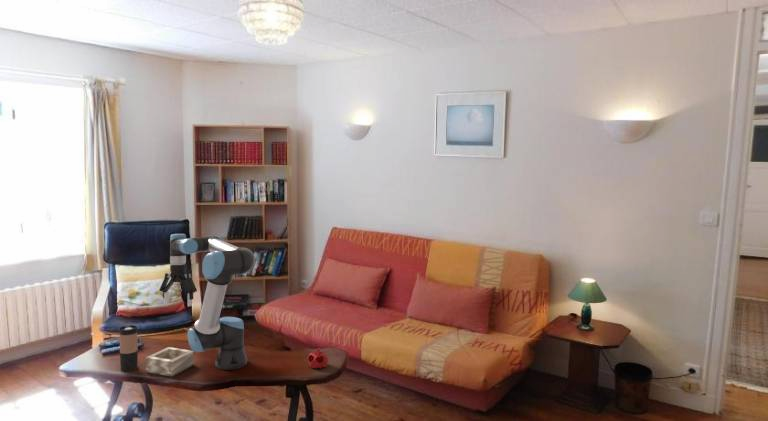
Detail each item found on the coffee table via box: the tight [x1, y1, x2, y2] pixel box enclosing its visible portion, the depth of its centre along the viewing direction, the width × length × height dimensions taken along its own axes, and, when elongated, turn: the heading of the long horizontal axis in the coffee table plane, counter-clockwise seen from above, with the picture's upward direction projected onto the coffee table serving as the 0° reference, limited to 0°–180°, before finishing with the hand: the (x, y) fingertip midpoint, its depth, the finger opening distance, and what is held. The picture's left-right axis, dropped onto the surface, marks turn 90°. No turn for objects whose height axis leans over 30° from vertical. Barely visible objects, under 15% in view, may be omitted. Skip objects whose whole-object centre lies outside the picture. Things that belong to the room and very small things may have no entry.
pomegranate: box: [307, 347, 329, 369], centre depth 251 cm, size 10×10×9 cm
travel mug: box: [119, 324, 139, 372], centre depth 242 cm, size 8×8×20 cm
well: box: [145, 346, 195, 377], centre depth 244 cm, size 15×15×7 cm
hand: (178, 305), depth 259 cm, fingers open, 13 cm apart
